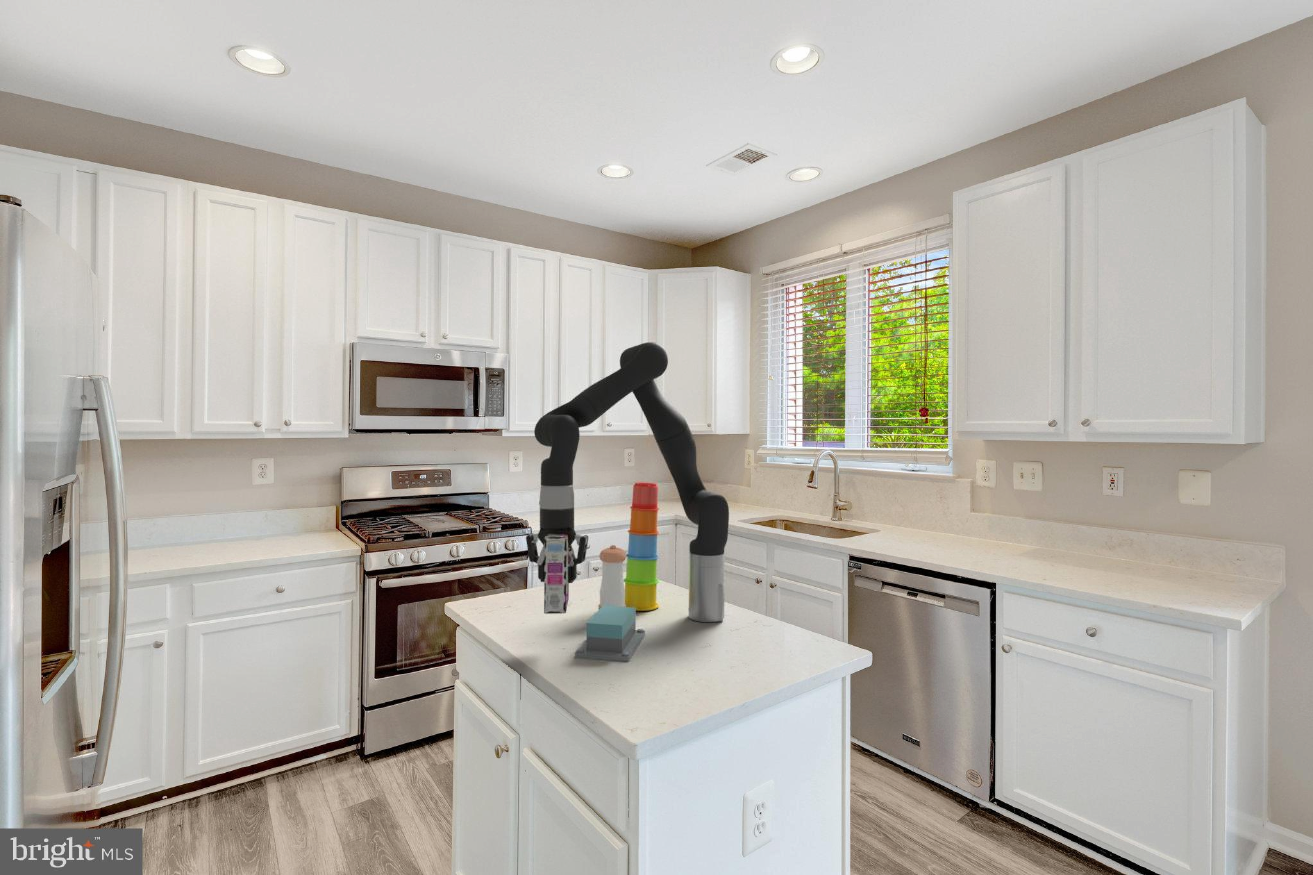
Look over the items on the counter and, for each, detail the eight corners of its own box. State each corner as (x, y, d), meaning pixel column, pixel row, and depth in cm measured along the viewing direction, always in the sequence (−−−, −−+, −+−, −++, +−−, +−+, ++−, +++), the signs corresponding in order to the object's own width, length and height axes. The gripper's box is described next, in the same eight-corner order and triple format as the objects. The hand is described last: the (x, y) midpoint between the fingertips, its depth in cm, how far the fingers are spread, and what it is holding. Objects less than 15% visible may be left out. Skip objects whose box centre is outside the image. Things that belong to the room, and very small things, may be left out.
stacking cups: (620, 602, 179) (622, 481, 179) (656, 601, 181) (657, 481, 180) (622, 612, 169) (624, 484, 169) (660, 611, 170) (662, 484, 170)
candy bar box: (567, 614, 133) (567, 536, 133) (543, 614, 133) (543, 537, 132) (570, 599, 144) (569, 528, 144) (548, 600, 144) (547, 528, 143)
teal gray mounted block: (645, 634, 151) (645, 605, 151) (628, 661, 133) (629, 628, 133) (597, 631, 153) (597, 602, 153) (574, 657, 136) (575, 625, 136)
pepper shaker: (627, 614, 167) (628, 543, 167) (623, 623, 160) (624, 548, 160) (601, 613, 168) (601, 542, 168) (595, 622, 161) (596, 547, 160)
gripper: (593, 504, 140) (593, 579, 141) (532, 502, 143) (532, 576, 143) (583, 508, 133) (583, 587, 133) (519, 507, 136) (519, 584, 136)
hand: (557, 581), depth 138 cm, fingers closed on candy bar box, 5 cm apart
